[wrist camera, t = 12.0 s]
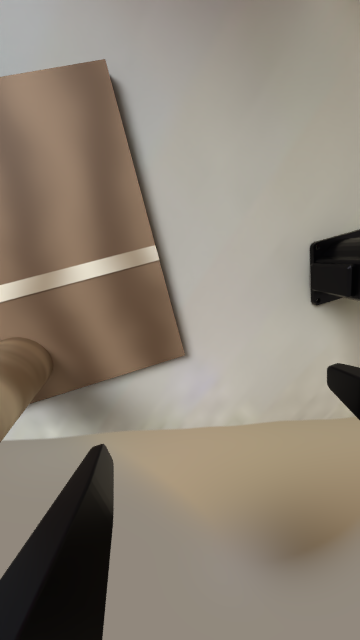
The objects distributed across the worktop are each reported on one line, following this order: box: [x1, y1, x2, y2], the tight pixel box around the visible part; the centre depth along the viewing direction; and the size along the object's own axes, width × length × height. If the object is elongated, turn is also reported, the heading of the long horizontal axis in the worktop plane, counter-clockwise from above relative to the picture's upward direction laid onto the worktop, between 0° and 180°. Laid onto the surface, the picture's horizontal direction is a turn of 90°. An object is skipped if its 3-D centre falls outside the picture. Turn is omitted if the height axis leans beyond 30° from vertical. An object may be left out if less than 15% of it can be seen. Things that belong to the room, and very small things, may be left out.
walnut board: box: [0, 59, 185, 404], centre depth 16 cm, size 18×22×1 cm
